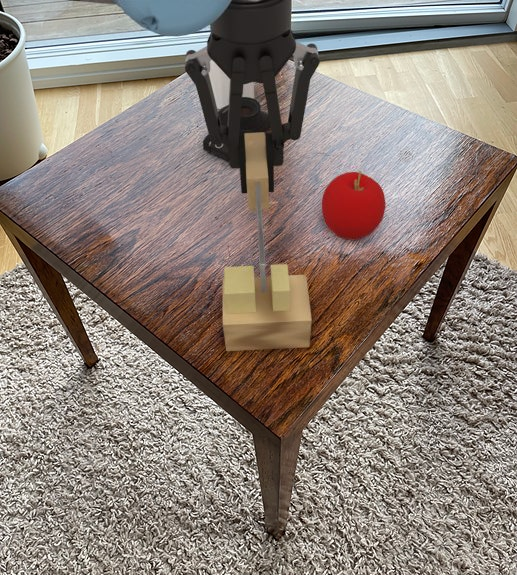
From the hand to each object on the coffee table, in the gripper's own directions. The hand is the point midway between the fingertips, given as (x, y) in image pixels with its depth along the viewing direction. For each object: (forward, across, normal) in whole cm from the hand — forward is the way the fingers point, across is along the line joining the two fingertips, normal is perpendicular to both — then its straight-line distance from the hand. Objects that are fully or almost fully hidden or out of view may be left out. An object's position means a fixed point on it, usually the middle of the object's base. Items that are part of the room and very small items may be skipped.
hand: (257, 184), depth 69 cm
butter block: (+9, +3, +10) cm, 14 cm away
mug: (+15, +1, -41) cm, 44 cm away
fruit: (+15, -14, -7) cm, 22 cm away
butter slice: (+9, -2, +10) cm, 14 cm away
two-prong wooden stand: (+15, 0, +10) cm, 18 cm away
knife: (0, 0, +6) cm, 6 cm away
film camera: (+15, +2, -29) cm, 33 cm away
